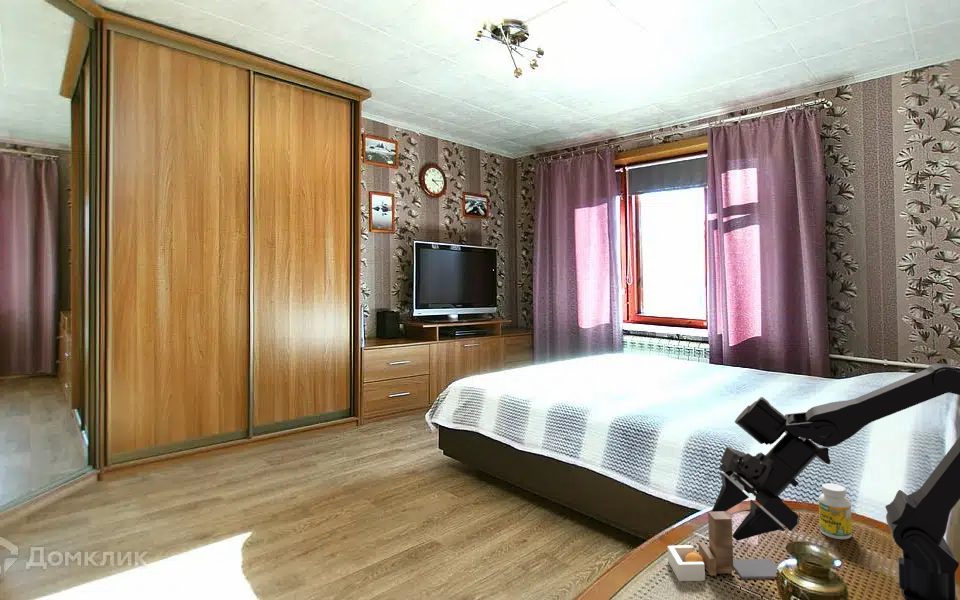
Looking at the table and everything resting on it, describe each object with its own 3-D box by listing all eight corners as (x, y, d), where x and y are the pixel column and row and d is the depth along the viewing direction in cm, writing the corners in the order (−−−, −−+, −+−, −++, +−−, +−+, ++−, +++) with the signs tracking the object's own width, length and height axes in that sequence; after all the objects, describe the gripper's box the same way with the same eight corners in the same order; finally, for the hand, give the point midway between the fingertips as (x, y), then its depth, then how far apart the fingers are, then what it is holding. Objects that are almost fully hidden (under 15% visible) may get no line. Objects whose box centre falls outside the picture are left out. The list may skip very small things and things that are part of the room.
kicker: (723, 557, 96) (721, 508, 96) (736, 575, 91) (734, 522, 90) (699, 558, 96) (697, 508, 96) (710, 575, 91) (708, 522, 90)
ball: (680, 552, 94) (681, 569, 94) (695, 560, 91) (696, 577, 92) (692, 547, 96) (692, 563, 96) (707, 554, 93) (707, 572, 93)
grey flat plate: (769, 560, 96) (769, 558, 96) (785, 578, 90) (785, 575, 90) (728, 561, 96) (728, 559, 96) (741, 578, 91) (741, 576, 91)
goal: (692, 560, 97) (691, 545, 97) (705, 580, 91) (704, 564, 90) (668, 561, 97) (667, 545, 97) (679, 581, 91) (678, 564, 91)
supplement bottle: (856, 534, 103) (855, 487, 103) (845, 543, 100) (844, 495, 100) (826, 524, 108) (824, 479, 107) (814, 532, 105) (813, 486, 104)
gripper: (727, 419, 101) (673, 476, 102) (776, 450, 83) (709, 520, 84) (770, 456, 101) (715, 513, 102) (828, 496, 83) (761, 565, 84)
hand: (723, 525), depth 93 cm, fingers open, 9 cm apart
